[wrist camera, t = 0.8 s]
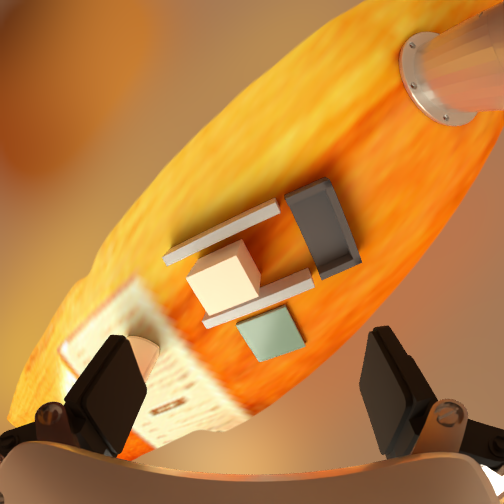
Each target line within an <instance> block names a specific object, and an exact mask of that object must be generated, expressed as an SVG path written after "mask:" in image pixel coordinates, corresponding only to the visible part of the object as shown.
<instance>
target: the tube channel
mask: <svg viewBox="0 0 504 504" xmlns="http://www.w3.org/2000/svg"><path fill="white" fill-rule="evenodd" d="M279 213H281V212H280V206H279V204H278V202H277V200H276V198H273V199H271V200H269V201H266V202H264V203H262V204H260V205H258V206H256V207H254V208H252V209H249V210H247V211H245V212H243V213H241V214H239V215H237V216H235V217H233V218H231V219H229V220H227V221H225V222H222V223H220V224H218V225H216V226H214V227H212V228H210V229H208V230H206V231H204V232H202V233H200V234H198V235H196V236H194V237H192V238H190V239H188V240H186V241H184V242H182V243H180V244H178V245H176V246H174V247H172V248H170V249H169V250H168V252H167V253H166V254H165V255H164V256H163V257H162V258H163V260H164V262H165V264H166V265H167V266H169V265H171V264H173V263H175V262H177V261H179V260H181V259H183V258H185V257H188V256H190V255H192V254H194V253H196V252H198V251H200V250H202V249H204V248H206V247H208V246H211V245H213V244H215V243H217V242H219V241H221V240H223V239H225V238H227V237H230V236H232V235H234V234H236V233H238V232H240V231H242V230H244V229H247V228H249V227H251V226H253V225H255V224H257V223H260V222H262V221H264V220H266V219H268V218H270V217H273V216H275V215H277V214H279ZM314 287H315V286H314V282H313V278H312V275H311V273H310V271H309V268H306V269H303V270H301V271H299V272H296V273H294V274H292V275H289V276H287V277H285V278H282V279H280V280H277V281H275V282H273V283H270V284H268V285H265V286H263V287H261V288H260V289H259V297H256V298H254V299H251V300H249V301H246V302H244V303H241V304H239V305H236V306H234V307H231V308H228V309H226V310H223V311H221V312H218V313H215V314H213V315H210V316H209V315H208V313H207V311H206V313H205V315H204V318H203V320H202V322H203V324H204V325H205V327H206V328H207V329H208V328H211V327H214V326H217V325H220V324H222V323H225V322H228V321H230V320H233V319H236V318H239V317H241V316H244V315H246V314H249V313H252V312H254V311H257V310H260V309H262V308H265V307H267V306H270V305H272V304H275V303H277V302H280V301H282V300H285V299H287V298H290V297H292V296H295V295H297V294H300V293H302V292H304V291H307V290H309V289H312V288H314Z"/></svg>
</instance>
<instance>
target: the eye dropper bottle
mask: <svg viewBox="0 0 504 504" xmlns="http://www.w3.org/2000/svg"><path fill="white" fill-rule="evenodd" d="M126 339H128V340H129V341H130V344H131V346H132V349H133V352H134V355H135V358H136V361H137V363H138V366H139V369H140V372H141V374H142V377H143V379H144V382H145V383H146V381H147V379H148V377H149V375H150V373H151V371H152V369H153V367H154V365H155V363H156V361H157V359H158V357H159V347H158V346H157V345H156V344H155V343H153V342H151V341H150V340H147V339H145V338H142V337H138V336H128V337H127V338H126Z"/></svg>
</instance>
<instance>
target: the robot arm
mask: <svg viewBox="0 0 504 504" xmlns="http://www.w3.org/2000/svg"><path fill="white" fill-rule="evenodd" d="M399 67H400V74H401V77H402V81H403V84H404V86H405V88H406V91H407V92H408V94H409V96H410V97H411V99H412V100H413V102H414V103H415V104H416V106H417V107H418V108H419V109H420V110H421V111H422V112H423V113H424V114H425V115H426V116H428V117H429V118H431V119H432V120H434V121H436V122H438V123H440V124H443V125H447V126H461V125H464V124H467V123H468V122H470V121H471V120H473V118H474V117H475V116H476V114H477V112H479V111H494V110H504V1H503V2H501V3H499V4H497V5H495V6H493V7H491V8H489V9H487V10H485V11H483V12H481V13H479V14H477V15H475V16H473V17H471V18H469V19H467V20H465V21H463V22H461V23H460V24H458V25H456V26H454V27H452V28H450V29H449V30H447V31H445V32H443V33H442V34H438V33H434V32H420V33H417V34H415V35H413V36H412V37H410V38H409V39H408V40H407V41H406V42H405V43H404V45H403V47H402V49H401V52H400V57H399ZM411 86H412V87H411ZM359 386H360V391H361V395H362V397H363V400H364V403H365V406H366V409H367V412H368V415H369V418H370V421H371V424H372V427H373V430H374V434H375V436H376V440H377V443H378V446H379V449H380V452H381V454H382V455H384V454H385V455H386V458H387V460H383V461H378V462H374V463H369V464H363V465H358V466H352V467H346V468H338V469H331V470H325V471H315V472H305V473H293V474H270V475H236V474H215V473H203V472H193V471H184V470H177V469H169V468H163V467H157V466H151V465H145V464H140V463H136V462H131V461H127V460H123V459H118V458H116V457H117V455H118V454H120V453H121V452H122V450H123V448H124V445H125V443H126V440H127V438H128V436H129V433H130V431H131V429H132V426H133V424H134V422H135V419H136V417H137V415H138V412H139V410H140V408H141V405H142V403H143V401H144V399H145V396H146V394H147V387H146V384H145V382H144V379H143V377H142V374H141V372H140V369H139V366H138V363H137V361H136V358H135V355H134V352H133V349H132V346H131V344H130V341H129V340H128V339H126V337H125V336H123V335H110V336H109V337H108V339H107V340H106V341H105V343H104V344H103V345H102V347H101V348H100V349H99V351H98V352H97V353H96V355H95V356H94V357H93V359H92V360H91V362H90V363H89V364H88V366H87V367H86V368H85V370H84V371H83V373H82V374H81V375H80V377H79V378H78V380H77V381H76V382H75V384H74V385H73V387H72V388H71V390H70V391H69V392H68V394H67V395H66V397H65V398H64V400H65V402H66V403H65V404H64V406H63V405H62V404H61V403H59V402H48V403H46V404H44V405H42V406H41V407H40V408H39V409H38V410H37V412H36V414H35V422H32V423H29V424H26V425H24V426H21V427H18V428H15V429H12V430H9V431H6V432H4V433H3V434H2V435H1V436H0V504H504V430H503V429H500V428H496V427H493V426H489V425H486V424H483V423H479V422H476V421H473V420H470V419H468V412H467V409H466V408H465V407H464V405H463V404H462V403H460V402H459V401H456V400H454V399H442V400H440V401H438V400H437V398H436V396H435V394H434V393H433V391H432V389H431V388H430V386H429V384H428V382H427V381H426V379H425V377H424V376H423V374H422V373H421V371H420V369H419V368H418V366H417V365H416V363H415V361H414V359H413V358H412V357H411V356H410V355H407V353H406V352H405V350H404V349H403V347H402V345H401V344H400V342H399V340H398V339H397V337H396V336H395V334H394V333H393V331H392V330H391V328H390V327H389V326H380V327H375V328H374V329H373V331H371V332H369V334H368V340H367V346H366V352H365V357H364V362H363V368H362V373H361V377H360V382H359Z"/></svg>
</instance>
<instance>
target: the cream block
mask: <svg viewBox="0 0 504 504" xmlns="http://www.w3.org/2000/svg"><path fill="white" fill-rule="evenodd" d="M186 279H187V281H188V283H189V284H190V286H191V288H192V289H193V291H194V292H195V294H196V296H197V297H198V299H199V300H200V302H201V304H202V305H203V307H204V308H205V310H206V311H207V313H208V315H209V316H210V315H213V314H215V313H218V312H221V311H223V310H226V309H228V308H231V307H234V306H236V305H239V304H241V303H244V302H246V301H249V300H251V299H254V298H256V297H259V289H260V279H261V274H260V272H259V270H258V268H257V266H256V264H255V263H254V261H253V259H252V257H251V255H250V253H249V251H248V249H247V247H246V245H245V244H244V242H243V240H242V239H240V240H238V241H236V242H234V243H232V244H230V245H227V246H225V247H223V248H221V249H219V250H217V251H214V252H212V253H210V254H208V255H206V256H204V257H202V258H199V259H198V260H197V262H196V263H195V265H194V266H193V268H192V269H191V271H190V272H189V274H188V275H187V277H186Z"/></svg>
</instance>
